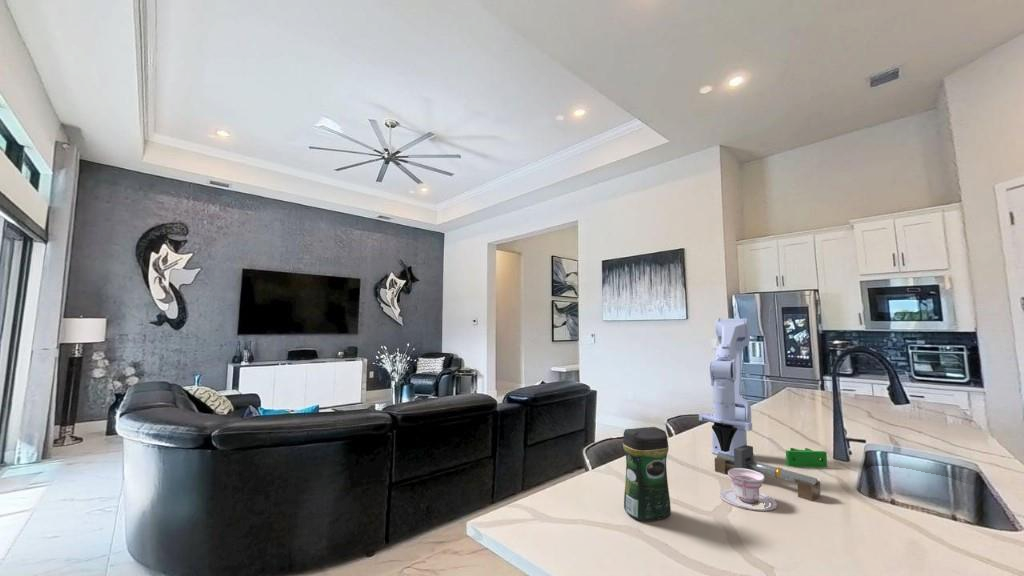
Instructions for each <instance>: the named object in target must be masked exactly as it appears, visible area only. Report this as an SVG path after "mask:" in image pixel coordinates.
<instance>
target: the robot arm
mask: <svg viewBox="0 0 1024 576" xmlns="http://www.w3.org/2000/svg"><path fill="white" fill-rule="evenodd" d="M715 335H716V337H717V341H718V342H719V345H718V346H717V347H716V349H715V353H714V358H713V361H711V362H710V364H709V376H710V381H711V382H710V383H711V386H712V413H713V414H711V413H703V412H701V413H698V421H702V422H703V421H705V422H708V423H713V425H711V429H712V431H711V436H712V441H711V442H712V450H711V451H710V453H711V454H716V455H717V454H718V453H719V452H721V453H725V454H729V455H732V456H734V449H735V448H738V447H741V446H744V445H748V441H747V440H748V439H747V437H748V436H747V432H750V431H752V430H753V422H752V410H751V409H752V408H751V404H750V402H749V401H748V400H746V399H745V398H744V397H743V396H742V355H743V351H744V348H745V347H747V346H750V341H751V322H750V319H749V318H748V317H747V318H746V317H745V318H725V317H724V318H721V317H718V318H717V319H715Z"/></svg>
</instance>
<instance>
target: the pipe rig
mask: <svg viewBox="0 0 1024 576" xmlns="http://www.w3.org/2000/svg"><path fill="white" fill-rule="evenodd" d="M744 461H745V468H746V469H750V470H754V471H757V472H759V473H761V474H762V475H767V476H771V477H774V478H776V479H779V480H784V481H788V482H791V483H795V484H797V497H798V498H800V499H804V500H808V501H810V502H813V501H815V500H816V499H818V498H820V497H822V495H821V481H820V480H818V478H816V477H813V476H811V475H810V476H809V475H806V474H802V473H798V472H794V471H791V470H787V469H784V468H783V467H778V466H777V467H776V466H773V465H768V464H765V463H762V462H759V461H755V460H753V461H751V460H747V459H744ZM733 468H734V456H732V455H729V454H725V453H721V452H719V453H718V454H716V457H714V471H715V472H717V473H720V474H723V475H728V471H729V470H730V469H733Z"/></svg>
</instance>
